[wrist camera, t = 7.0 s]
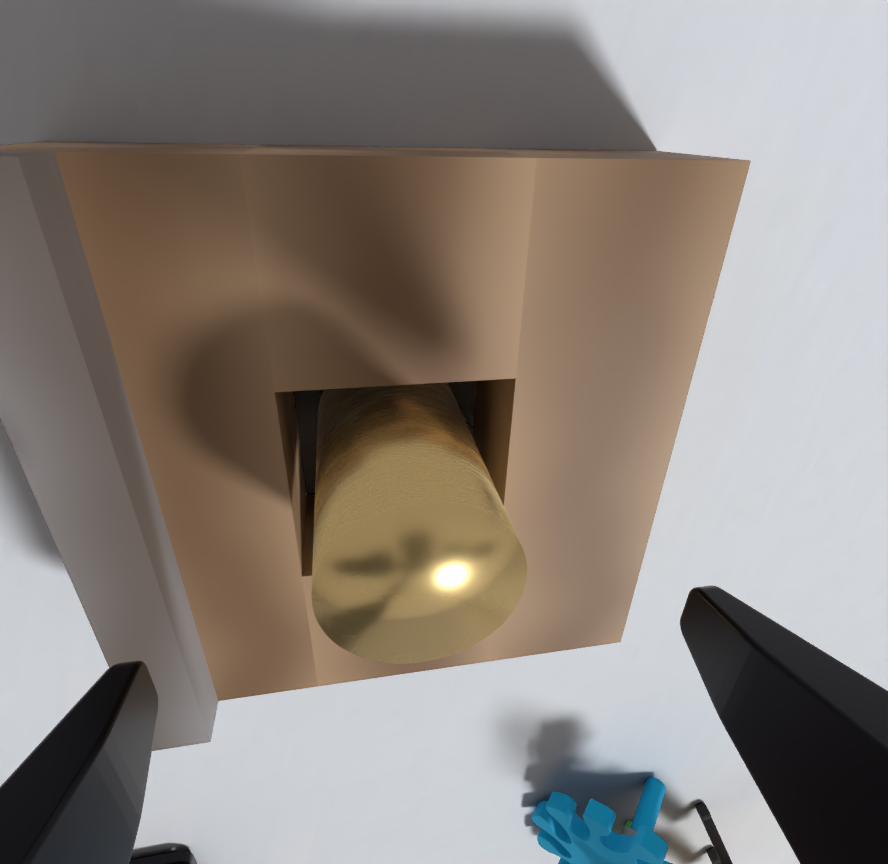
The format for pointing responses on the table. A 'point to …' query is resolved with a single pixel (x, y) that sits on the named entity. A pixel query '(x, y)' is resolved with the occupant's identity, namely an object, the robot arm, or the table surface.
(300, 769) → the table surface
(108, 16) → the table surface
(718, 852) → the robot dog
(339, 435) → the gold metal cylinder
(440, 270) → the jig
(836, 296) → the table surface
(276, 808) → the table surface
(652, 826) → the gear
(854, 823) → the robot arm
